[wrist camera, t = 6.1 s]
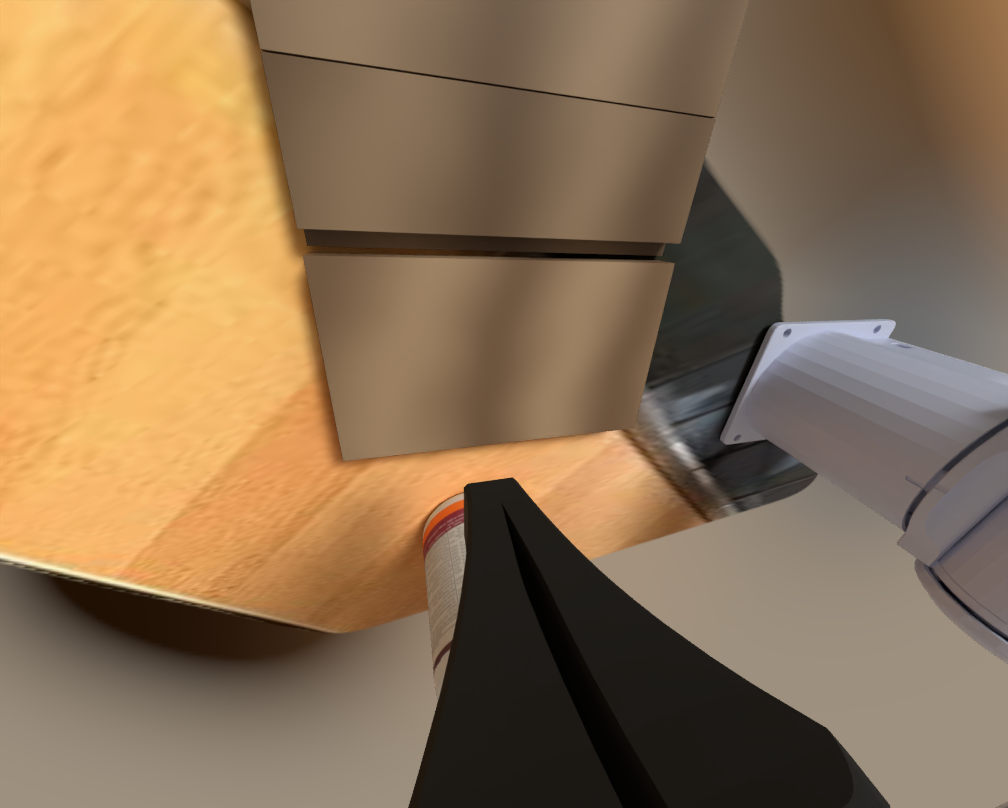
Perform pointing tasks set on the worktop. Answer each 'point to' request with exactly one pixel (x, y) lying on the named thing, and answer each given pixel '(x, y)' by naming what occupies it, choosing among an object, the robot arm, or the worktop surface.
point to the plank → (482, 346)
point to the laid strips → (496, 119)
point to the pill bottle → (444, 577)
